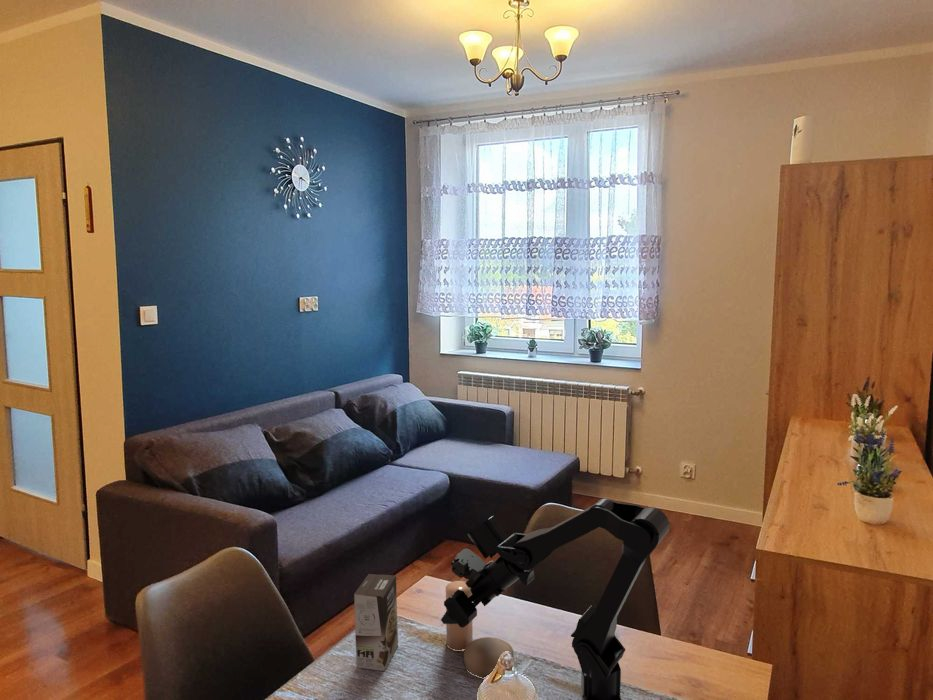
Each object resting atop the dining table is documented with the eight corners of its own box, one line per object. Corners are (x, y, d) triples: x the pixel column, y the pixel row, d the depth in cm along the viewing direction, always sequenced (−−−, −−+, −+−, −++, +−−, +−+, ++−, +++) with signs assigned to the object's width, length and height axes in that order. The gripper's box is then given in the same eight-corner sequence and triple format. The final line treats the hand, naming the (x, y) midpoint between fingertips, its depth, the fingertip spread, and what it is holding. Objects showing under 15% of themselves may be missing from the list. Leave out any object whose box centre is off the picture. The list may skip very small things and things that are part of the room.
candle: (472, 636, 144) (471, 580, 142) (472, 651, 138) (472, 594, 136) (446, 636, 144) (446, 581, 142) (446, 652, 138) (445, 594, 136)
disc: (511, 650, 139) (511, 636, 139) (515, 680, 129) (515, 666, 129) (464, 650, 139) (464, 637, 139) (464, 681, 129) (464, 667, 129)
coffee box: (385, 671, 132) (383, 597, 130) (355, 668, 133) (352, 594, 131) (399, 645, 141) (397, 574, 138) (370, 642, 142) (368, 572, 140)
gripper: (495, 525, 143) (453, 562, 151) (451, 561, 127) (406, 599, 135) (528, 568, 141) (483, 602, 148) (488, 609, 125) (439, 646, 132)
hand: (453, 611), depth 141 cm, fingers open, 9 cm apart
